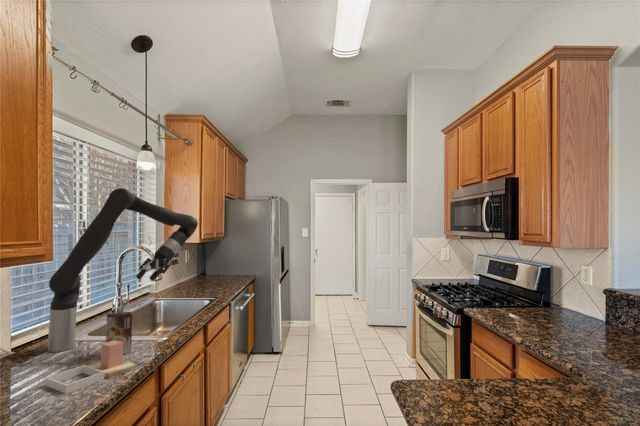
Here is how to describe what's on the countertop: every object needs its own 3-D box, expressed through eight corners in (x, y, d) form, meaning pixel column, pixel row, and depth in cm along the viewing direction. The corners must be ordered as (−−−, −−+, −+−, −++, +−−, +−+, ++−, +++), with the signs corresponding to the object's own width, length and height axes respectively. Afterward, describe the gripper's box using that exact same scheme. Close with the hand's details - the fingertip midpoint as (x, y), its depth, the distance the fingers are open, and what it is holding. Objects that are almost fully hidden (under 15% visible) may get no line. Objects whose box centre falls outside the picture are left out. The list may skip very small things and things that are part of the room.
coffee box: (130, 348, 147) (131, 311, 148) (131, 353, 142) (133, 314, 143) (104, 352, 142) (106, 313, 143) (105, 357, 137) (107, 317, 138)
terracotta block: (100, 366, 124) (101, 343, 125) (113, 361, 129) (114, 340, 129) (108, 368, 122) (109, 346, 122) (122, 364, 126) (123, 342, 127)
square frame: (44, 385, 112) (45, 377, 112) (83, 372, 122) (84, 365, 122) (65, 393, 106) (66, 385, 106) (104, 379, 117) (104, 371, 117)
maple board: (84, 370, 124) (85, 366, 124) (112, 361, 133) (112, 357, 133) (109, 378, 118) (109, 374, 118) (135, 368, 126) (136, 364, 127)
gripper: (152, 244, 156) (127, 272, 145) (174, 245, 150) (150, 274, 139) (161, 255, 161) (138, 283, 150) (183, 257, 154) (161, 285, 143)
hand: (144, 279), depth 144 cm, fingers open, 8 cm apart
